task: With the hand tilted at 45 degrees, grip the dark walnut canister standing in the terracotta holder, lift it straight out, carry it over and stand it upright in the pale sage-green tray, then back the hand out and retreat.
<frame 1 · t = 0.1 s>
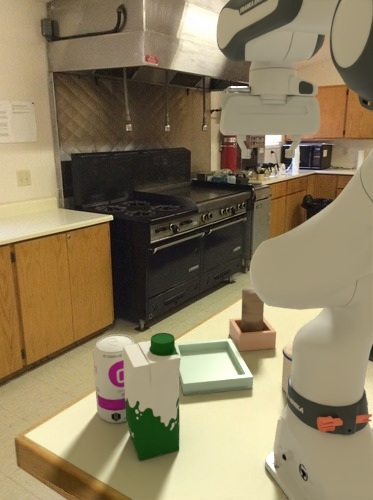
hand: (268, 158, 88), 48 cm above the table, tool pointing down, fingers open, 8 cm apart
supplement can: (118, 412, 84), on the table
milk carton: (153, 443, 76), on the table
terracotta holder: (251, 340, 112), on the table
sage tray: (209, 369, 99), on the table
teacup with lid: (304, 386, 92), on the table
walnut canister: (251, 341, 112), resting in terracotta holder
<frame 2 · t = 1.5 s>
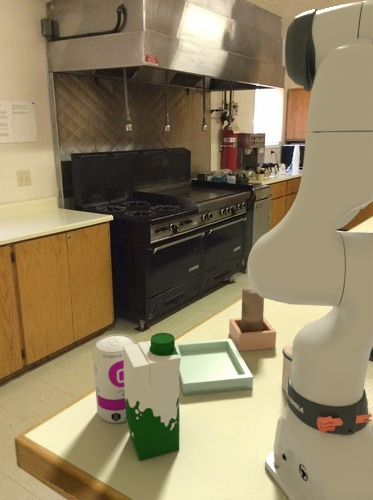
hand: (302, 230, 107), 29 cm above the table, tool tilted 45°, fingers open, 8 cm apart
nothing on the table moved.
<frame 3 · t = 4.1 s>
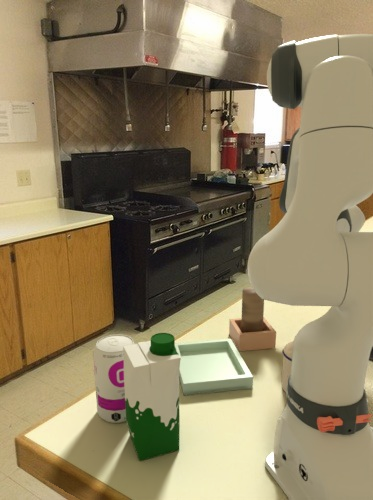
hand: (272, 293, 110), 13 cm above the table, tool tilted 45°, fingers open, 8 cm apart
nothing on the table moved.
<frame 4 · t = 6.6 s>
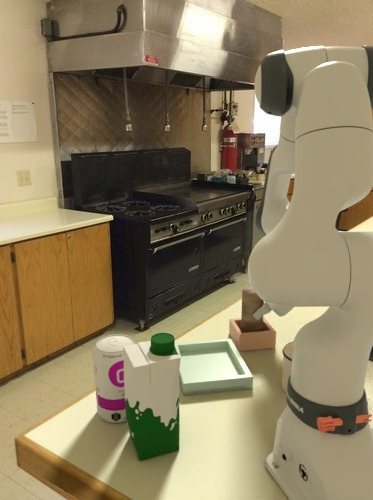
hand: (250, 311, 110), 8 cm above the table, tool tilted 45°, fingers closed on walnut canister, 6 cm apart
walnut canister: (251, 341, 112), resting in terracotta holder, touching gripper
everything else where it was.
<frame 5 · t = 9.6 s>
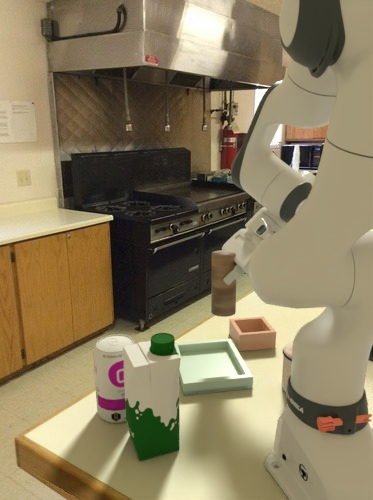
hand: (221, 277, 96), 21 cm above the table, tool tilted 45°, fingers closed on walnut canister, 6 cm apart
walnut canister: (223, 311, 98), point 13 cm above the table, touching gripper
everything else where it was.
when the fingers open (11 cm above the table, at t = 13.1 s): walnut canister drops 1 cm, resting on sage tray.
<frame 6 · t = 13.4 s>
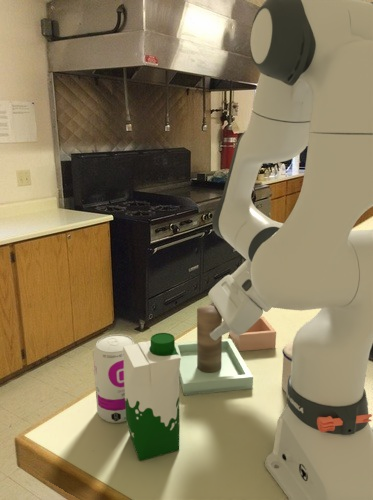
hand: (207, 327, 96), 11 cm above the table, tool tilted 45°, fingers open, 8 cm apart
walnut canister: (209, 366, 99), point 1 cm above the table, touching sage tray
everything else where it was.
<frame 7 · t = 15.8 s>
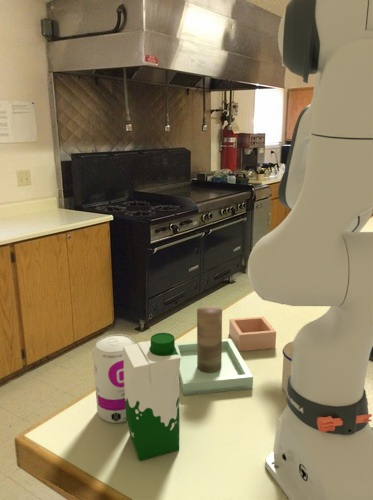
hand: (270, 294, 99), 17 cm above the table, tool tilted 45°, fingers open, 8 cm apart
nothing on the table moved.
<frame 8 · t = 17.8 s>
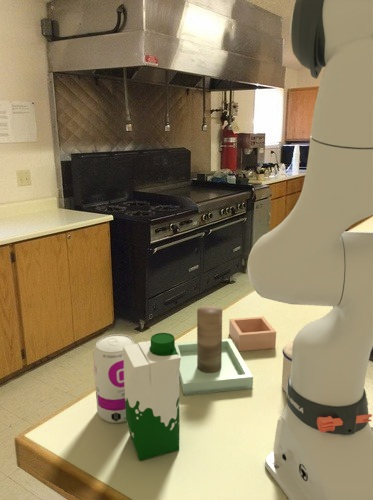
hand: (303, 229, 99), 31 cm above the table, tool tilted 45°, fingers open, 8 cm apart
nothing on the table moved.
at the end: walnut canister inside the target area on the sage tray (0.1 cm from its centre), point 0.8 cm above the sage tray's base; walnut canister tilted 0°; the gripper is holding nothing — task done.
